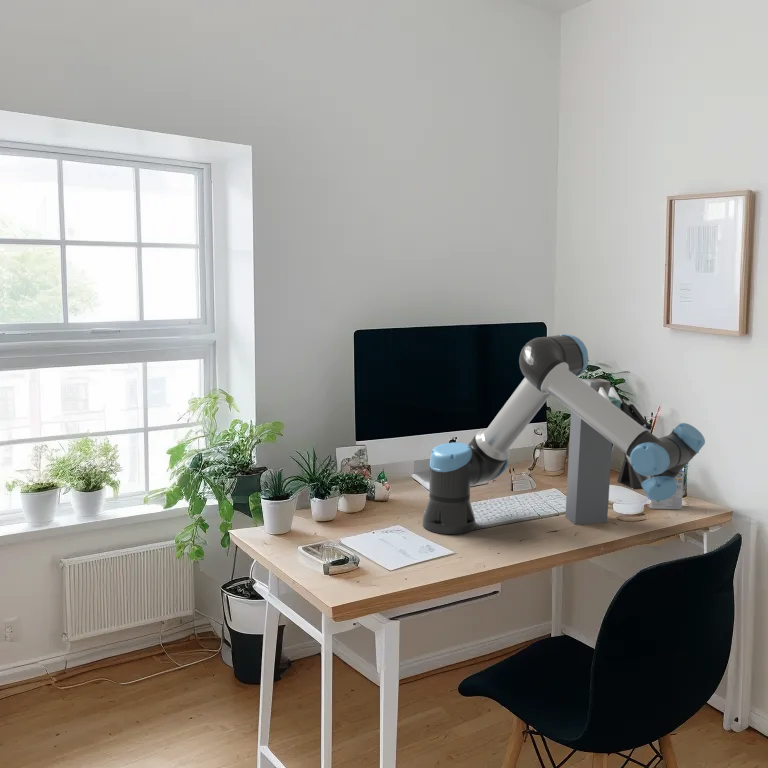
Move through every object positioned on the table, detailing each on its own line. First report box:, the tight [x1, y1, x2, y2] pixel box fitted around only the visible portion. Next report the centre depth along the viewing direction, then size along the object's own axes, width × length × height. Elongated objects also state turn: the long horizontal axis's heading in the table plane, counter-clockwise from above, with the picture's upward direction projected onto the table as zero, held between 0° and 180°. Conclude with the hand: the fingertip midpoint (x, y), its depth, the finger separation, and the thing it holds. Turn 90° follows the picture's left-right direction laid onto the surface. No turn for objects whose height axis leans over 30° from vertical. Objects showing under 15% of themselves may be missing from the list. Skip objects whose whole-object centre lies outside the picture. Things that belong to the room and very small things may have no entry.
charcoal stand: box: [565, 411, 613, 525], centre depth 230 cm, size 10×7×32 cm
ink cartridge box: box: [646, 469, 685, 510], centre depth 245 cm, size 10×6×14 cm, turn 89°
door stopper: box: [617, 454, 643, 490], centre depth 269 cm, size 9×6×12 cm, turn 19°
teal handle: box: [581, 378, 621, 409], centre depth 221 cm, size 6×16×6 cm, turn 10°
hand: (605, 390), depth 219 cm, fingers closed on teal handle, 2 cm apart
